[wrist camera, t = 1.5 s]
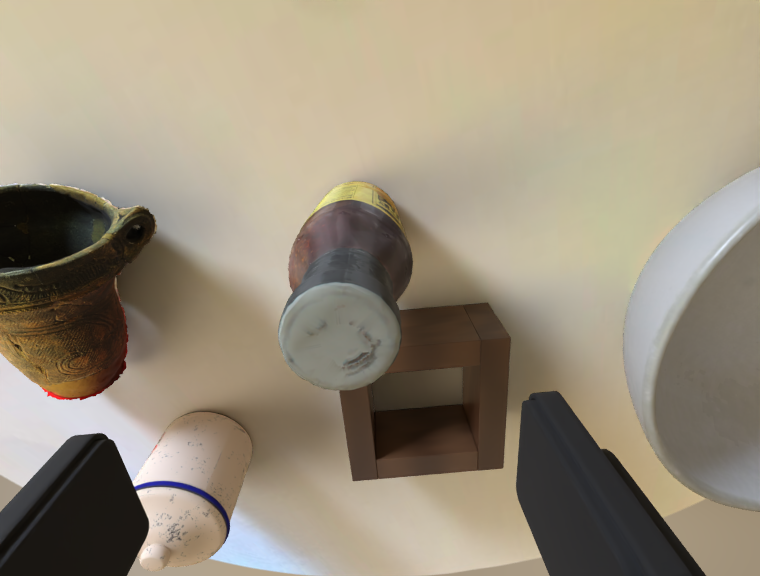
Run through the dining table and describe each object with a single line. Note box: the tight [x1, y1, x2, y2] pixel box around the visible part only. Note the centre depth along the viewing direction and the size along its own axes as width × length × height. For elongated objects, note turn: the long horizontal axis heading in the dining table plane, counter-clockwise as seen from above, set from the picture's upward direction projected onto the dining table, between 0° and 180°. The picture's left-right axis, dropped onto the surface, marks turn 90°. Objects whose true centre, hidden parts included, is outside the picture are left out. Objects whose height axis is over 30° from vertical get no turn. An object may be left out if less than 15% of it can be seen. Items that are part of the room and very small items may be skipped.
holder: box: [339, 303, 511, 481], centre depth 34 cm, size 13×13×6 cm
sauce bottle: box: [278, 182, 413, 390], centre depth 22 cm, size 6×6×20 cm
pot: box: [0, 183, 157, 400], centre depth 28 cm, size 17×11×18 cm
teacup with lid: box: [132, 412, 252, 571], centre depth 35 cm, size 12×9×12 cm
